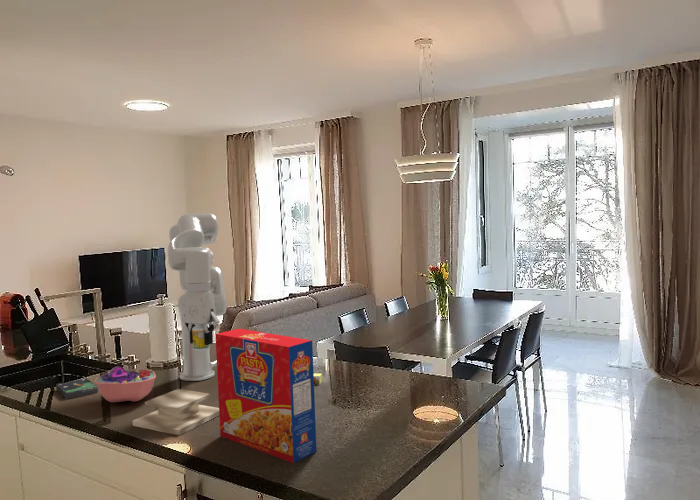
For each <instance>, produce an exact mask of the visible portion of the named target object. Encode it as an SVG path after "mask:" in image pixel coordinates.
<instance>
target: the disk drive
mask: <svg viewBox="0 0 700 500" xmlns="http://www.w3.org/2000/svg"><path fill="white" fill-rule="evenodd" d="M55 389H57V390H58V391H59V392H60V393H61V394H62V395H63V396H64V397H65V398H66V399H65V398H64V397H63V396H62V395H61V394H60V393H59V392H58V391H57V390H56V391H57V392H58V393H59V394H60V395H61V396H62V397H63V398H64V399H65V400H70V398H71V399H75V398H80V397H85V396H91V395H93V394H98V392H99V389H98V386H97V385H96V383H94V382H92V381H91V380H89V379H88V378H86V377H85V378H80V379H75V380H70V381H68V382H60V383H55Z"/></svg>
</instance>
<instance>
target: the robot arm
mask: <svg viewBox="0 0 700 500" xmlns="http://www.w3.org/2000/svg"><path fill="white" fill-rule="evenodd" d="M177 220H178V221H177V223H176V224H175V225H173V226H171V227H170V229H169V235H168V237H169V244H168V246H167V257H168V258H167V261H168V262H167V263H168V265H169V267H170V269H171V270H172V271H176V272H178V273H179V282H180V283H179V284H180V287H181V289H182V291H183V292H184V294H182V295H180V296H179V297H178V300H177V308H178V313H179V318H180V324H181V325H180V326H181V337H182V357H183V358H182V359H183V372H181V373H180V374H179V379H180V380H182V381H186V382H195V381H196V382H197V381H204V380H207V379H211V378H213V377H214V376H216V375H215V374H216V373H215V370H213V368H214V367H217V360H214V361H211V357H210V349H208V350H205V351H195V350H194V349H193V336H192V328H193V327H194V326H195V325H194V324H203V325H204V328H205V332H206V333H204V342H205V345H209V344H210V345H212V344H213V343H214V337H213V336H214V335H213V332H215V329H216V328H217V326H218V325H219V324H220V320H219V318H218V317H219V316H223V315H225V313H226V312H227V306H228V303H227V295H226V289H225V281H224V275H223V272H222V270H221V268H220V267H217V266H212V265H213V264H214V253H213V251H212V250H211V249H210V248H209V247H205V246H203V245H210V244H214V243H215V241H216V239H217V236H218V233H219V222H218V218H217V217H216V215H215V214H213V213H209V212H206V213H205V212H203V213H202V212H201V213H197V212H196V213H186V214H185V213H184V214H182V215H181V216H180V217H179V218H178V219H177ZM208 326H209V328H208Z"/></svg>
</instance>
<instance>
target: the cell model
mask: <svg viewBox="0 0 700 500" xmlns="http://www.w3.org/2000/svg"><path fill="white" fill-rule="evenodd" d="M156 378H157V376H156V373H155V371H153V370H150V369H146V368H142V369H141V368H140V369H125V368H124V367H123V366H119V365H118V366H114V367H113V368H112V369H110V370H109V371H108V372H106V373H104V374H102V375H100V376H98V377H96V379H95V380H94V382H95V383H94V384H95V385H96V386H97V388H98V392H99V395H101V396H102V397H103V398H104V399H105V400H106V401H107V402H110V403H121V402H133V403H134V402H138V401H141V400H143V399H144V398H146V397H147V396H148V395H149V394H150V393H151V392H152V390H153V386H154V382H155V381H156Z"/></svg>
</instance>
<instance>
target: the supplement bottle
mask: <svg viewBox="0 0 700 500" xmlns="http://www.w3.org/2000/svg"><path fill="white" fill-rule="evenodd" d="M194 325H195V326H194V327H193V328H192V336H193V349H194V350H195V351H205V350H208V349H209V350H210V348H211V344H209V345H205V342H204V333H206V332H205V328H204V325H203V324H194ZM208 328H209V325H208Z"/></svg>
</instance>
